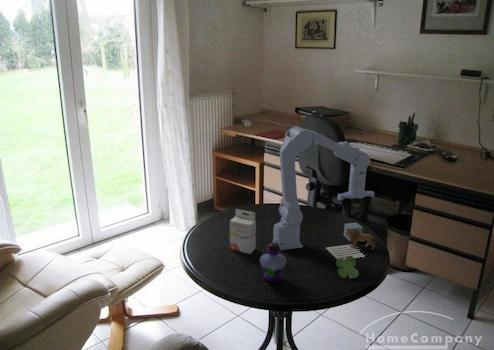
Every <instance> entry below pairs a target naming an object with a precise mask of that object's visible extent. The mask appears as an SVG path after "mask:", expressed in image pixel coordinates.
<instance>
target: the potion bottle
mask: <svg viewBox="0 0 494 350" xmlns="http://www.w3.org/2000/svg"><path fill="white" fill-rule="evenodd" d="M265 252H266V253H264V254H262V255H261V256H260V258H259V262H260V267H261V269H262V271H263V276H264V277H263V278H264V281H266V283H272V284H275V283H279V282H280V281H281V280H282V276H283V272H284V268H285V266H286V264H287V261H288V259H287V257H285V256H284V255H283V254H281V250H280V247H279V244H278V243H273V242H269V243H268V246H266V251H265Z"/></svg>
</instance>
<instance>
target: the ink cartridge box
mask: <svg viewBox="0 0 494 350" xmlns="http://www.w3.org/2000/svg"><path fill="white" fill-rule="evenodd" d="M234 211H235V216H234V217H233V218H231V219H230V220H229V250H232V251H236V252H241V253H244V254H249V255H251V254H252V253H253V252H254V250H255V249H256V240H257V239H256V238H257V237H256V233H257V230H256V226H257V225H256V223H257V220H256V212H254V211H249V210H243V209H238V208H235V210H234ZM246 214H247V215H246Z"/></svg>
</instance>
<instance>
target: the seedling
mask: <svg viewBox="0 0 494 350" xmlns="http://www.w3.org/2000/svg"><path fill="white" fill-rule="evenodd" d="M356 261H357V260H356V258H353V257H351V256H347V257H346V260H345V259H343V258H338V259H336V262H335V264H336V266H337V267H338V269H337V274H338V275H339V276H340V277H341V278H347V277H349V278H350V279H355V278H357V277H358V276H359V274H360V273H359V270H358V269H357V268H356V265H357V262H356Z"/></svg>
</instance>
